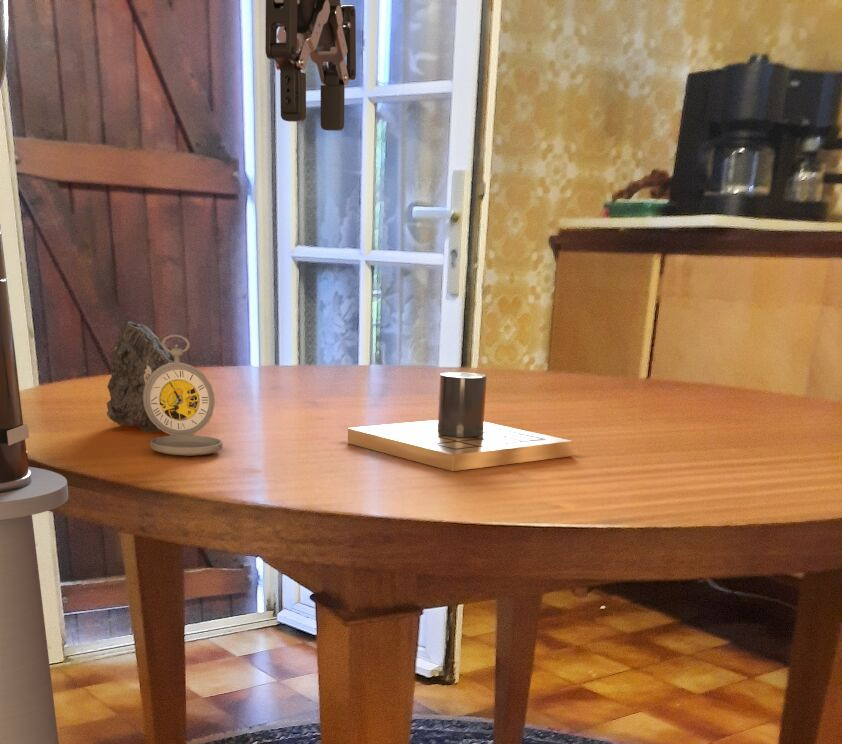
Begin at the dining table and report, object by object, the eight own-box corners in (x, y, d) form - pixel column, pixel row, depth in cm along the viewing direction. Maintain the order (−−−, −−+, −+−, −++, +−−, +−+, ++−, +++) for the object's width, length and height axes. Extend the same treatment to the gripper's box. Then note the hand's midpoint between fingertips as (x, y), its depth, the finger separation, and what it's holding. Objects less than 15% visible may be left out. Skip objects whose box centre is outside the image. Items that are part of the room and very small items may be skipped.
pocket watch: (184, 461, 96) (177, 343, 92) (123, 448, 100) (114, 335, 96) (249, 450, 102) (246, 339, 98) (189, 439, 106) (183, 331, 102)
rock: (80, 393, 113) (113, 304, 108) (159, 413, 120) (193, 331, 115) (125, 453, 107) (162, 362, 102) (206, 471, 114) (244, 386, 109)
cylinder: (458, 439, 104) (461, 378, 101) (427, 431, 107) (430, 372, 105) (492, 435, 107) (496, 376, 104) (461, 428, 110) (465, 371, 107)
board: (452, 471, 97) (453, 454, 97) (347, 443, 108) (347, 427, 107) (571, 456, 107) (573, 440, 106) (464, 431, 118) (465, 417, 117)
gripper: (309, -66, 100) (309, 133, 107) (234, -111, 88) (240, 117, 95) (383, -69, 98) (379, 134, 105) (317, -116, 86) (317, 118, 93)
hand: (313, 125), depth 100 cm, fingers open, 8 cm apart
